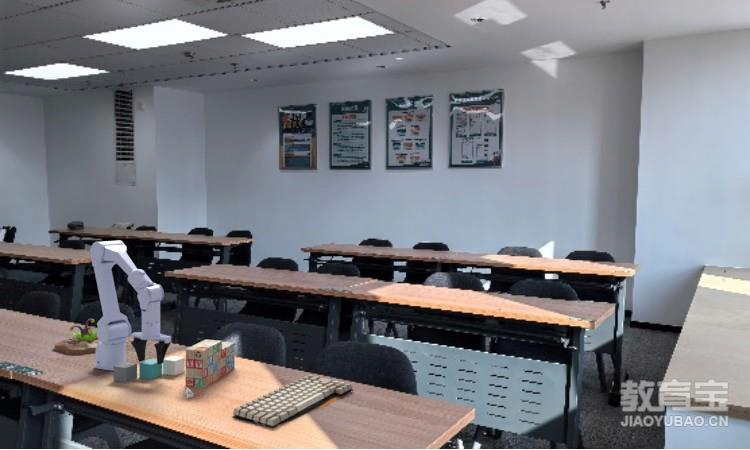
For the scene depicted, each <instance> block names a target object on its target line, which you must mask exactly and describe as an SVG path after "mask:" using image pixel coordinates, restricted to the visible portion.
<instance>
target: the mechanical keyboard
mask: <svg viewBox="0 0 750 450" xmlns="http://www.w3.org/2000/svg"><path fill="white" fill-rule="evenodd" d="M353 390H354V389H353V386H352V383H346V382H344V381H341V382H340V381H339V380H332V379H329V378H325V377H320V375H316V374H315V375H314V374H310V373H309V374H308V375H307V376H306V375H305V376H303V377H301V378H298V379H295V380H293V382H290V383H287V384H285V385H283V386H281V387H278V388H276V389H274V390H273V391H269V392H268V393H264V394H263V395H261V396H258V397H257V398H253V399H252V400H251V401H247V402H246V403H243V404H241V405H240V406H236V407H234V408H233V413H232V414H233V416H231V418H234V419H237V420H239V421H244V422H247V423H249V424H250V423H251V424H254V425H262V426H264V427H269V428H274V427H275V428H276V427H277V426H279V425H283V424H285V423H286V424H287V423H290V422H292V421H295V420H297V419H299V418H300V417H302V416H305V415H306V414H308V413H310V412H312V411H314V410H316V409H322V408H323V409H324V407H327V406H329V405H330V404H332V403H334V402H336V401H339V400H340V399H341V398H343V397H346V396H348V395H349V394H351V393H352V392H351V391H353ZM350 392H351V393H350ZM353 392H354V391H353ZM348 393H349V394H348ZM281 430H284V428H283V429H281Z"/></svg>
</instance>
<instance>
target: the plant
mask: <svg viewBox="0 0 750 450" xmlns="http://www.w3.org/2000/svg"><path fill="white" fill-rule="evenodd" d="M89 322H90V323H92V324H93V323H95V319H93V318H88V319H87V321H85V323H84V328H83V327H81V326H80V325H73V326H70V328H69V331H70V332H72V331H73V330H74V328H78V329H79V331H78V333H77V332H72V333H71V334H72V335H74V337H72V338H68V339H63V340H60V341H59V342H56V343H54V351H56V352H61V353H65V354H66V355H71V356H72V355H75V356H76V355H81V356H83V355H86V354H94V353H95V354H96V346H97V344H98V343H99V342H100V340H99V339H98V336H97V331H96V332H94V330H93V328H92V327H91V326H89V325H88V324H89Z"/></svg>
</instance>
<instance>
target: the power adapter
mask: <svg viewBox="0 0 750 450" xmlns="http://www.w3.org/2000/svg"><path fill="white" fill-rule="evenodd" d="M184 393H185V397H186V398H185V399H189V398H191V397H194V392H192V390H191V389H190V388H189V387H186V389H185V392H184Z"/></svg>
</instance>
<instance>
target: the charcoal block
mask: <svg viewBox="0 0 750 450" xmlns="http://www.w3.org/2000/svg"><path fill="white" fill-rule="evenodd" d="M136 378H137V379H138V363H136V362H135V363H134V362H128V361H126V362H123V363H121V364H118V365H115V366H113V382H116V381H120V382H119V383H122V382H125V383H124V384H127V383H130V382H132V381H135V380H136ZM134 379H135V380H134ZM131 380H132V381H131ZM129 381H130V382H129ZM126 382H127V383H126Z"/></svg>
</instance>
